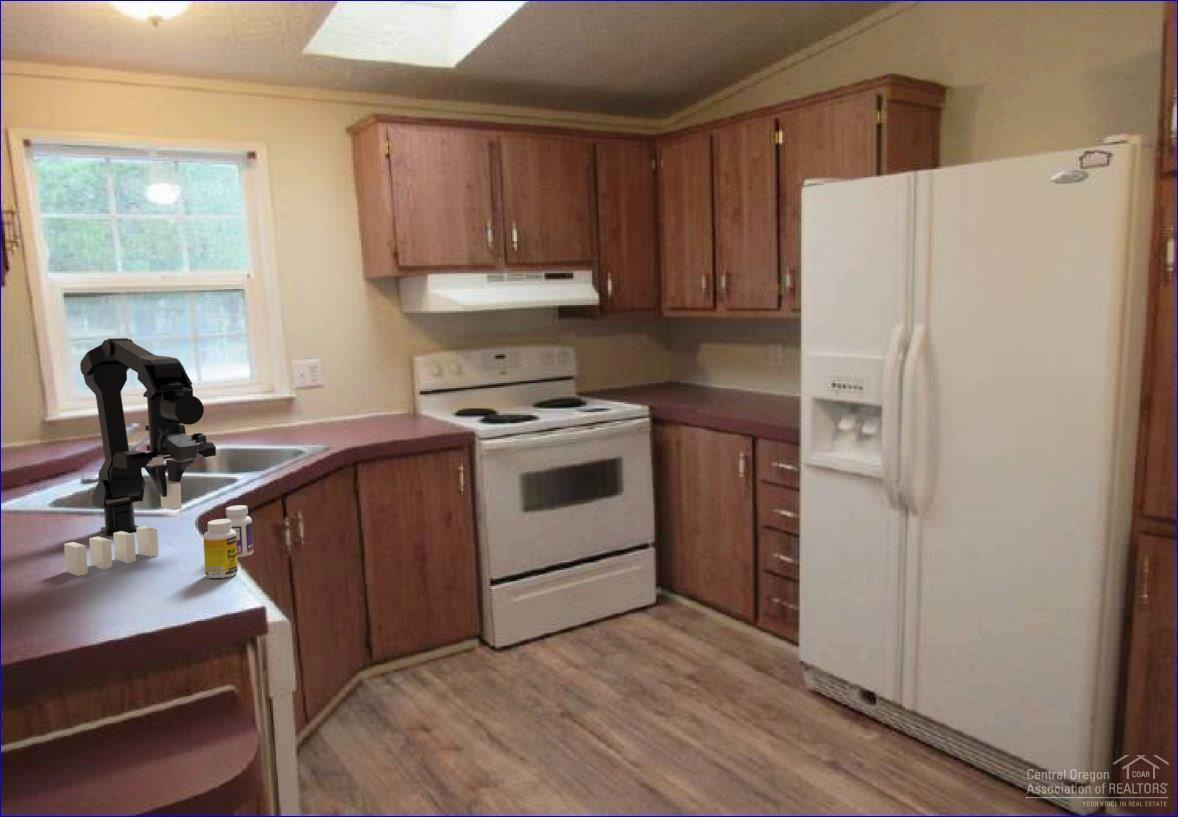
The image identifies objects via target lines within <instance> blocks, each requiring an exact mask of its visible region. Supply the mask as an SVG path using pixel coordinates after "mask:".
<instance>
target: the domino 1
mask: <svg viewBox="0 0 1178 817" xmlns="http://www.w3.org/2000/svg"><path fill="white" fill-rule="evenodd" d="M63 548H64V561H65V573H69V574H72V575H74V576H78V577H81V576H84V574H85V575H88V574H87V573H89V572H88V571H89V570H88V558H87V545H85V544H82V543H79V542H74V541H71V542H66V543H63ZM80 575H81V576H80Z"/></svg>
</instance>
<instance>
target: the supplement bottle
mask: <svg viewBox="0 0 1178 817" xmlns="http://www.w3.org/2000/svg"><path fill="white" fill-rule="evenodd" d="M231 526H232V525H231V520H229V519H226V518H219V519H213V520H210V521H208V522H207V531H206V532H205V533H204V534H203V536H202V537H203V553H204V554H203V555H204V558H203V559H204V572H205V576H206V578H208V579H211V578H214V579H213V580H216V579H215V578H223V579H226V578H225V577H228V578H231V577H233V576H232V575H234V576H236V575H237V573H238V571H239V568H238V567H239V566H238V558H237V538H236V531H235V530H233V529H231ZM230 576H231V577H230Z"/></svg>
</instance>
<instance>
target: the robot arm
mask: <svg viewBox="0 0 1178 817" xmlns="http://www.w3.org/2000/svg"><path fill="white" fill-rule="evenodd" d="M79 365H80V366H79V367H80V368H79V369H80V372H81V374H82V375H83V380H84V382H85V383H84V384H86V386H87V388H89V390H91V392H92V393H93V394H94V395H95V398H96V399H95V400H96V406H97V412H98V413H97V415H98V420H99V425H100V433H101V442H102V446H103V447H102V448H103V454H104V461H103V464H102V466H101V468H100V470H99V472H98V475H97V476H98V482H97V484H96V487H95V488H94V491H93V493H92V496H91V500H92V502H93V506H95V507H98V508H101V509H103V512H104V513H103V514H104V526H102V527H100V530H101V531H102V532H103V533H104V534H105V535H106V534H107V535H106V536H112V534H113V533H115V532H120V531H123V532H127V533H130V532H137V531H136V528H138V527H139V526H138V525H136V524H135V522H136V521H135V510H134V508H135V507H134V503H137V502H144V495H145V488H146V482H145V479H144V475H143V470H142V469H144V470H145V471H146V472H147V474H148V475H149V477H150V478H151V480H152V481H153V483H154V485H155V487H156V489H157V490H158V492H159V493H160V496H161V495H162V497H166V496H167V484H166V480H170V481H175V482H180V483H181V479H182V477H183V475H184V472H185V470H186V469H187V468H188V467H189V466H190V465H191V464H194V463H195V460H194V459H197V458H198V455H200V457H201V458H209V457H215V456H217V447H216V445H215V443H214V442H211V441H207V436H206V435H207V434H205V433H204V432H197V433H196V432H195V433H193V434H187V432H186V427H185V425H188V426H189V425H193V424H197V423H198V422H199V421H200V420H201V419H202V417H203V415H204V412H205V406H204V404H203V402H202V401H201V400H200V399H199V398H198V397H197V396H194V388H193V386H192V385H193V382H192V381H191V379H190V377H189V375H188V373H187V372H186V368H185V367H184V365H183V364H182V362H181V361H180V359H178V358H176V357H173V356H172V357H171V356H164V355H156V354H154V353H152V352H151V351H148V350H147V349H145V348H143V347H142V346H139V345H138V344H136V343H134V341H133V340H132V339H130V338H127V337H116V338H115V337H113V338H109V337H108V338H107V339H105V340H103V342H101V344H100V345H98V346H95V347H94V348H92V349H91V350H89V351H88V350H87V352H86V353H85V354H84V356H83V358H81V360H80V364H79ZM130 369H131V370H133V371H134V372H136V373H137V380H138V381H139V383H140V384H142V385H143V387H144V388H145V391H144V393H143V394H142V396H143V397H144V398H147V400H146V401H147V419H148V424H147V425H145V426H144V427H145V431H147V432H148V435H149V444H148V445H146V451H147V452H146V451H140V450H134V449H131V450H130V447H129V441H128V433H127V426H126V420H125V410H124V406H123V398H122V390H124V389H123V388H124V387H125V384H126V382H127V381H128V371H129V370H130ZM164 460H165V463H166V464H164ZM166 472H167V474H166Z"/></svg>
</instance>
